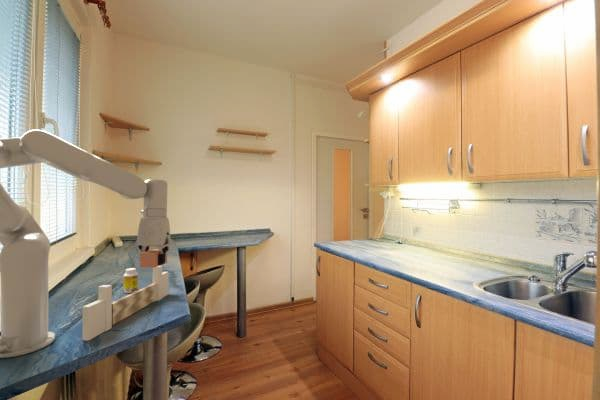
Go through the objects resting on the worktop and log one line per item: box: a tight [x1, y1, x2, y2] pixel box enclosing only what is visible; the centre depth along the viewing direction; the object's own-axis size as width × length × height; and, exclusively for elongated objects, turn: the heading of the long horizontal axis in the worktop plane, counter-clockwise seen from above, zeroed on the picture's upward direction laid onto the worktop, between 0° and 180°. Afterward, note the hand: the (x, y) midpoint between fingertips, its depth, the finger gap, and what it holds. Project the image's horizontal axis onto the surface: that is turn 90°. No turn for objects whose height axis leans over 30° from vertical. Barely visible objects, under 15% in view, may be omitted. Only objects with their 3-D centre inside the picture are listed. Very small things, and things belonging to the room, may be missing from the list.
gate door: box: [112, 283, 157, 326], centre depth 102 cm, size 24×1×7 cm, turn 173°
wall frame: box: [81, 265, 170, 342], centre depth 101 cm, size 40×3×14 cm, turn 173°
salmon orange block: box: [139, 248, 168, 269], centre depth 99 cm, size 8×5×5 cm, turn 173°
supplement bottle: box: [122, 267, 139, 294], centre depth 124 cm, size 6×6×10 cm
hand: (153, 263), depth 99 cm, fingers closed on salmon orange block, 5 cm apart
